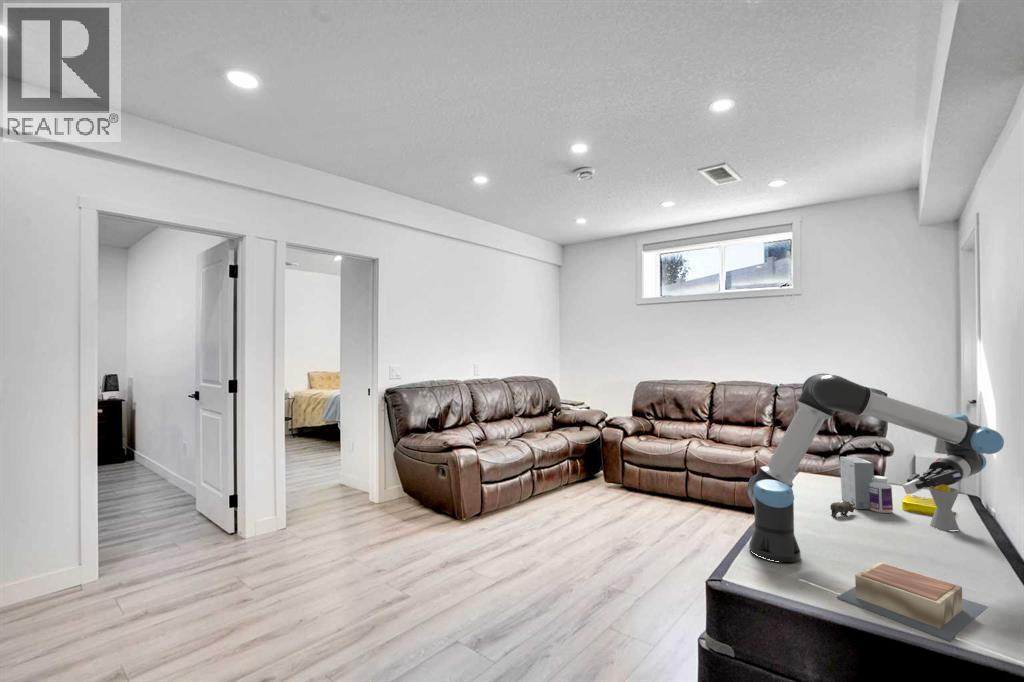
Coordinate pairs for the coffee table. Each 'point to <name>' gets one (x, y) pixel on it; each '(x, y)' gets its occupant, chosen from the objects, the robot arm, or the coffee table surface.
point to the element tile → (919, 504)
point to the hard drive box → (856, 481)
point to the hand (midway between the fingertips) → (907, 489)
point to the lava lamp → (943, 499)
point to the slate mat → (944, 632)
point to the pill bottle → (880, 495)
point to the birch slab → (909, 594)
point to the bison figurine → (841, 508)
